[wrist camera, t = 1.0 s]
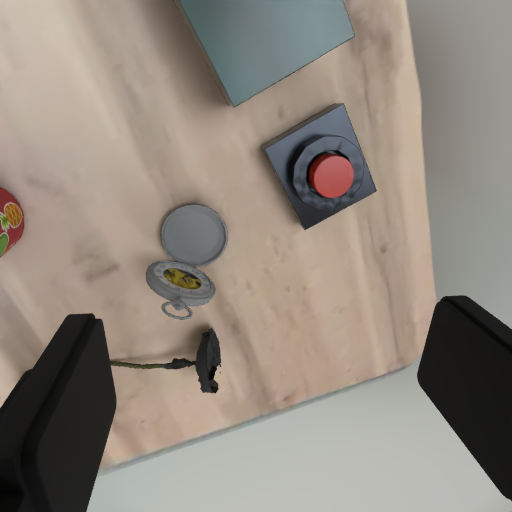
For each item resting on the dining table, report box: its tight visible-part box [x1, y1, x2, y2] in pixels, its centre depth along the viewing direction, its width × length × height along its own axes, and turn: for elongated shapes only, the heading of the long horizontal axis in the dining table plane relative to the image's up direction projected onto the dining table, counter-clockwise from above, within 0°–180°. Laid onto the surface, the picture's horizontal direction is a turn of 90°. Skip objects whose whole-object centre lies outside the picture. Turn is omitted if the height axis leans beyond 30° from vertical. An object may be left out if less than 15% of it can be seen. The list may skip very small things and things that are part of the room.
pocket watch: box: [146, 204, 228, 320], centre depth 32 cm, size 8×8×10 cm
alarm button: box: [309, 153, 354, 198], centre depth 31 cm, size 4×4×2 cm
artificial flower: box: [110, 328, 221, 393], centre depth 39 cm, size 9×22×10 cm, turn 99°
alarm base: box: [261, 103, 377, 230], centre depth 33 cm, size 9×8×4 cm
